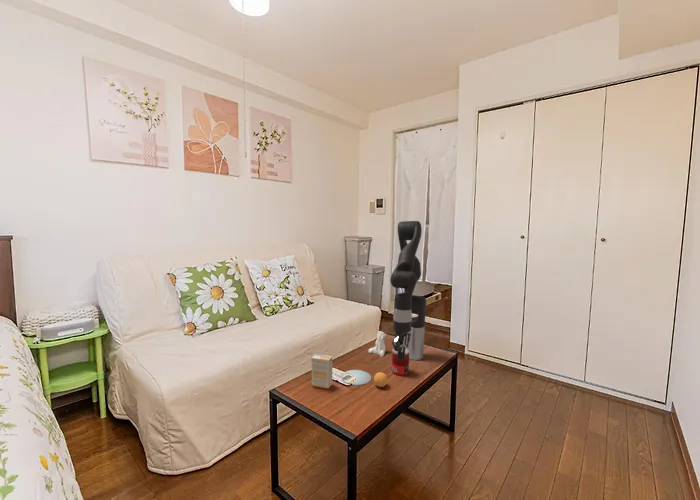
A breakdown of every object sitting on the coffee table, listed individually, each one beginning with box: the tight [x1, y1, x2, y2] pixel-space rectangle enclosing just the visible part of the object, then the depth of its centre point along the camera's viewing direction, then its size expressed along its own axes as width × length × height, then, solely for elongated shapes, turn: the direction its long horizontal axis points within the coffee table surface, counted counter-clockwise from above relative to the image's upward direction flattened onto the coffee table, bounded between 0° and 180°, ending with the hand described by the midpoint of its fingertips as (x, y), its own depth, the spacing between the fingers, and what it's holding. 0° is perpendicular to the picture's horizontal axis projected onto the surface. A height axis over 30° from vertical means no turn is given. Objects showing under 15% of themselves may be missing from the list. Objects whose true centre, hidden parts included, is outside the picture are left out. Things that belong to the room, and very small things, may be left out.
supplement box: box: [311, 353, 333, 390], centre depth 143 cm, size 8×5×13 cm, turn 71°
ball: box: [373, 372, 388, 388], centre depth 143 cm, size 6×6×6 cm
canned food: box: [391, 348, 410, 377], centre depth 156 cm, size 8×8×11 cm
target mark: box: [345, 369, 372, 386], centre depth 151 cm, size 14×14×1 cm
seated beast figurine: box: [367, 330, 387, 358], centre depth 179 cm, size 10×9×12 cm
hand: (401, 358), depth 136 cm, fingers closed
